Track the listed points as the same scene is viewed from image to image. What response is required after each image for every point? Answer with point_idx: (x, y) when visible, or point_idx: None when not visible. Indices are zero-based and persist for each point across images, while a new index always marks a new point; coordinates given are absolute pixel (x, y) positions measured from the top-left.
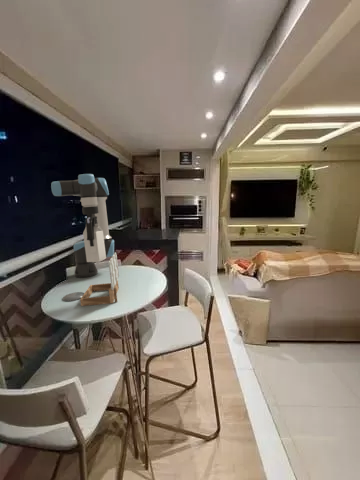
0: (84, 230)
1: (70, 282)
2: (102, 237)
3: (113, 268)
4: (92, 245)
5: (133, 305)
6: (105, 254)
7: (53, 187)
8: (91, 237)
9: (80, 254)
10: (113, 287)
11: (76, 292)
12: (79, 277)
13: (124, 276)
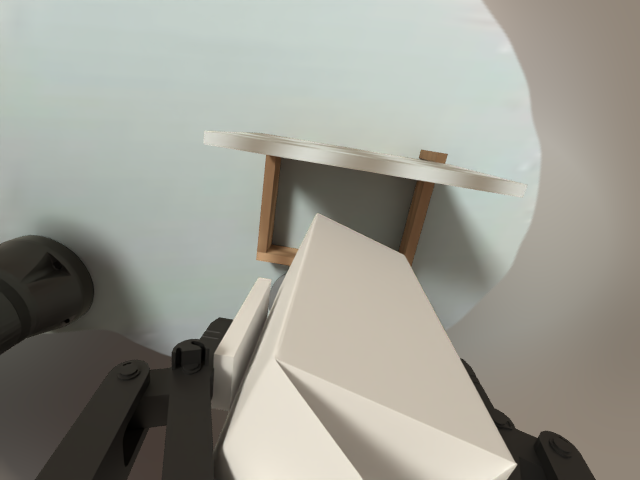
0: None
1: (140, 327)
2: (327, 306)
3: (402, 160)
4: (467, 372)
5: (498, 83)
6: (320, 222)
7: None
8: (578, 466)
9: None
10: (441, 163)
11: (270, 299)
12: (90, 303)
13: (112, 107)
